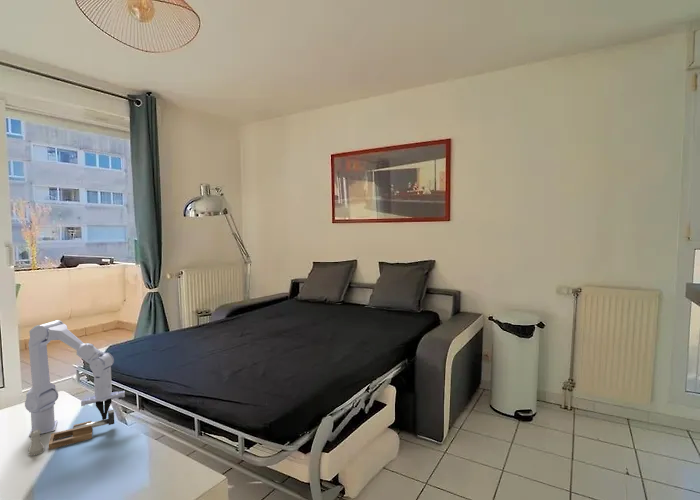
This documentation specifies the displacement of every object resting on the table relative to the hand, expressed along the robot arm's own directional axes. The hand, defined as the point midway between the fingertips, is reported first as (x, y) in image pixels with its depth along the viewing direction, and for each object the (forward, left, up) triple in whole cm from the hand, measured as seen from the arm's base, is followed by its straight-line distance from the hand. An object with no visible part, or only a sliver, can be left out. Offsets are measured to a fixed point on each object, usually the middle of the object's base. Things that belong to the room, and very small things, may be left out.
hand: (104, 418), depth 149 cm
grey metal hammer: (0, -3, -2) cm, 4 cm away
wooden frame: (0, -11, -5) cm, 12 cm away
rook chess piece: (+4, -21, -5) cm, 22 cm away
